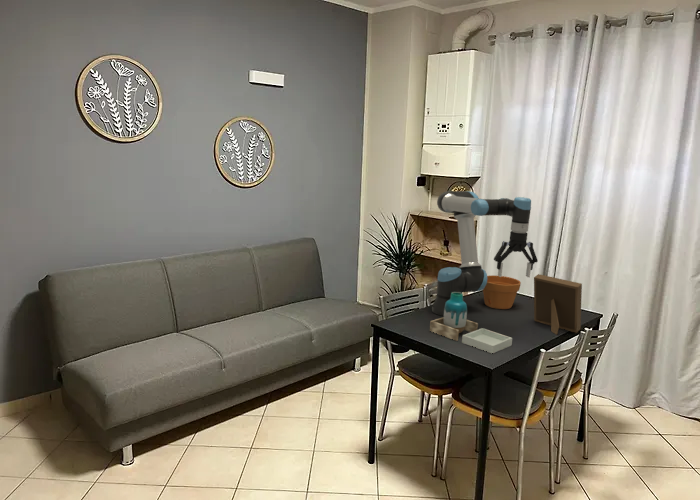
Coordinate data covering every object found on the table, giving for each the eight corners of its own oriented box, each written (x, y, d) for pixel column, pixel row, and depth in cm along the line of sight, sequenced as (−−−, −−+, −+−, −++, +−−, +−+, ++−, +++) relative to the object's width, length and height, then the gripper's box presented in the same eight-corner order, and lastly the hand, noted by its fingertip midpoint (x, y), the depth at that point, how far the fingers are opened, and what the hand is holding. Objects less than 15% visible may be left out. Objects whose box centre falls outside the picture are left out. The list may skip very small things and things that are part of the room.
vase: (460, 338, 241) (464, 298, 237) (438, 333, 246) (441, 293, 242) (468, 331, 250) (471, 292, 246) (447, 327, 255) (450, 288, 251)
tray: (461, 342, 235) (462, 335, 235) (481, 335, 246) (482, 328, 245) (492, 353, 224) (493, 346, 223) (511, 345, 235) (512, 337, 234)
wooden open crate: (429, 331, 248) (430, 321, 247) (450, 324, 259) (451, 314, 258) (456, 341, 237) (457, 330, 236) (477, 333, 248) (478, 323, 247)
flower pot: (492, 297, 308) (494, 273, 305) (525, 306, 293) (528, 281, 290) (471, 304, 294) (473, 278, 291) (504, 313, 279) (507, 287, 276)
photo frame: (538, 319, 272) (543, 272, 267) (580, 330, 257) (586, 281, 252) (524, 325, 262) (529, 277, 256) (567, 338, 247) (573, 287, 241)
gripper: (495, 232, 235) (490, 278, 240) (548, 233, 238) (542, 279, 242) (489, 229, 242) (484, 273, 247) (541, 230, 245) (535, 274, 250)
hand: (513, 276), depth 245 cm, fingers open, 13 cm apart
